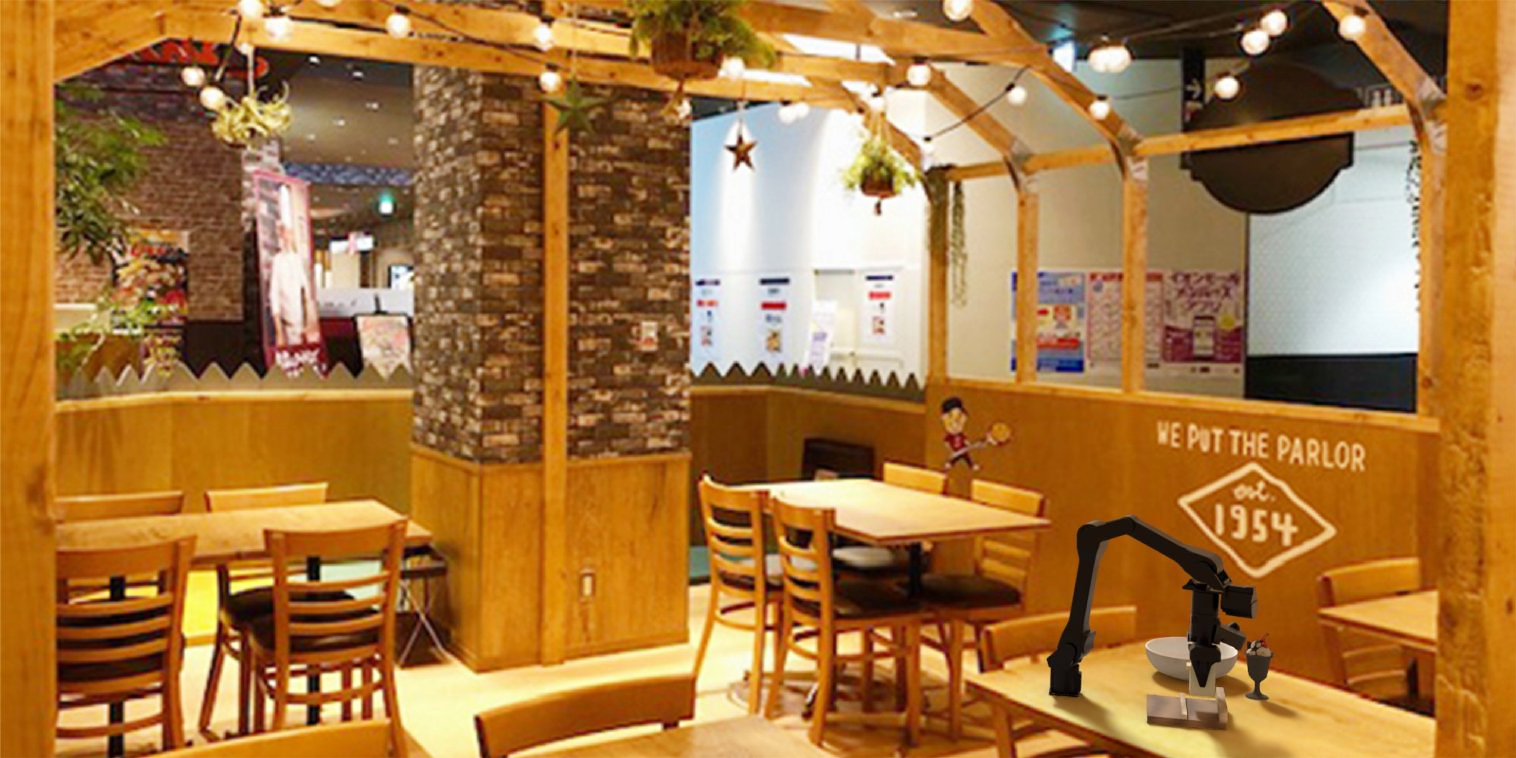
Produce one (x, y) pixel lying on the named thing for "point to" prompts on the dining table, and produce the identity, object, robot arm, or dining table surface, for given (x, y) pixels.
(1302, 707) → the dining table surface
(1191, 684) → the cabinet block
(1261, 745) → the dining table surface
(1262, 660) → the sundae
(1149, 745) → the dining table surface
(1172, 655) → the serving bowl
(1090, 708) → the dining table surface
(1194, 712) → the cleat board
